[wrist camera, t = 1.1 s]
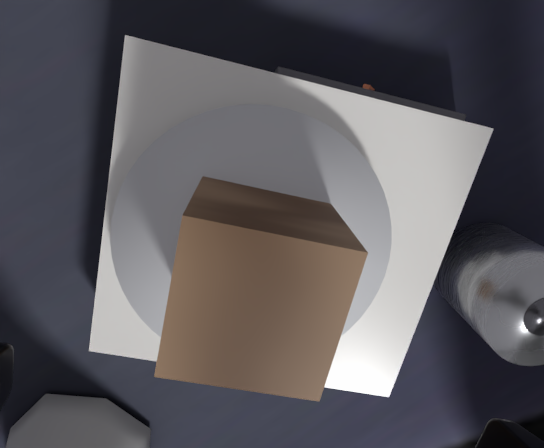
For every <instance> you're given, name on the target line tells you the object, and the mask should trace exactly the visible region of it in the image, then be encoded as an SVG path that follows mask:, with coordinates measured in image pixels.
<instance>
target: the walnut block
mask: <svg viewBox="0 0 544 448" xmlns="http://www.w3.org/2000/svg"><path fill="white" fill-rule="evenodd" d="M367 255H368V252H367V251H366V249H365V248H364V247H363V245H362V244H361V243H360V241H359V240H358V239H357V237H356V236H355V235H354V233H353V232H352V231H351V229H350V228H349V227H348V225H347V224H346V223H345V222H344V220H343V219H342V218H341V216H340V215H339V214H338V212H337V211H336V210H335V208H334V207H333V206H332V204H330V203H325V202H321V201H316V200H311V199H307V198H302V197H297V196H293V195H288V194H283V193H279V192H274V191H269V190H265V189H260V188H256V187H251V186H246V185H242V184H237V183H232V182H228V181H223V180H218V179H214V178H209V177H205V176H203V177H202V178H201V180H200V182H199V184H198V186H197V188H196V190H195V192H194V194H193V196H192V198H191V200H190V202H189V203H188V205H187V207H186V209H185V211H184V213H183V215H182V220H181V226H180V231H179V237H178V243H177V249H176V254H175V260H174V266H173V272H172V277H171V283H170V289H169V294H168V300H167V306H166V312H165V317H164V323H163V329H162V335H161V340H160V346H159V352H158V357H157V363H156V369H155V375H154V377H159V378H165V379H172V380H179V381H185V382H192V383H199V384H206V385H212V386H219V387H226V388H232V389H239V390H246V391H252V392H259V393H266V394H273V395H279V396H286V397H293V398H299V399H306V400H313V401H320V398H321V395H322V392H323V389H324V386H325V383H326V380H327V377H328V374H329V371H330V367H331V364H332V361H333V358H334V355H335V352H336V349H337V346H338V343H339V340H340V337H341V334H342V331H343V328H344V325H345V322H346V319H347V316H348V313H349V310H350V307H351V304H352V301H353V297H354V294H355V291H356V288H357V285H358V282H359V279H360V276H361V273H362V270H363V267H364V264H365V261H366V258H367Z"/></svg>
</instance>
